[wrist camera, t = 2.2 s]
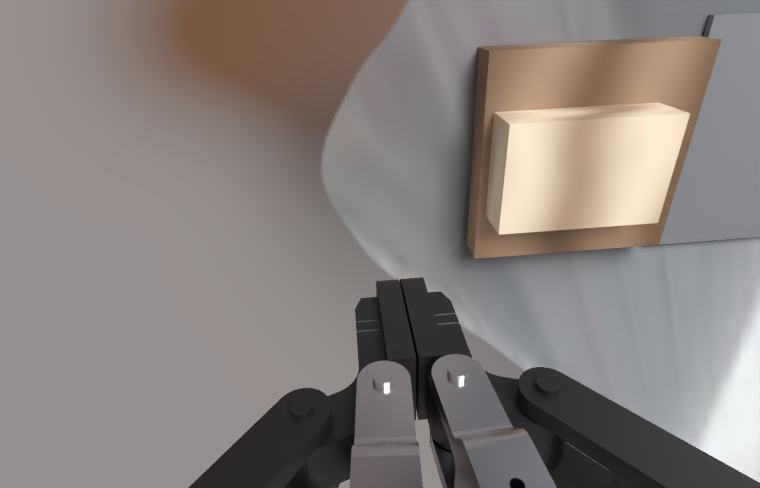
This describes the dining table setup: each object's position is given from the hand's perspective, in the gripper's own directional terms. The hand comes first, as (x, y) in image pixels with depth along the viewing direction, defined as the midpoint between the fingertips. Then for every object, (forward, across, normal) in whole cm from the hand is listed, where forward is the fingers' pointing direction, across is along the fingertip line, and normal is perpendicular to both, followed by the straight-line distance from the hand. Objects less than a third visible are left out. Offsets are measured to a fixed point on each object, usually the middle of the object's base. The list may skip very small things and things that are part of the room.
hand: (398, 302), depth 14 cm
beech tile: (+12, -11, 0) cm, 16 cm away
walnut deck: (+14, -12, 0) cm, 18 cm away
